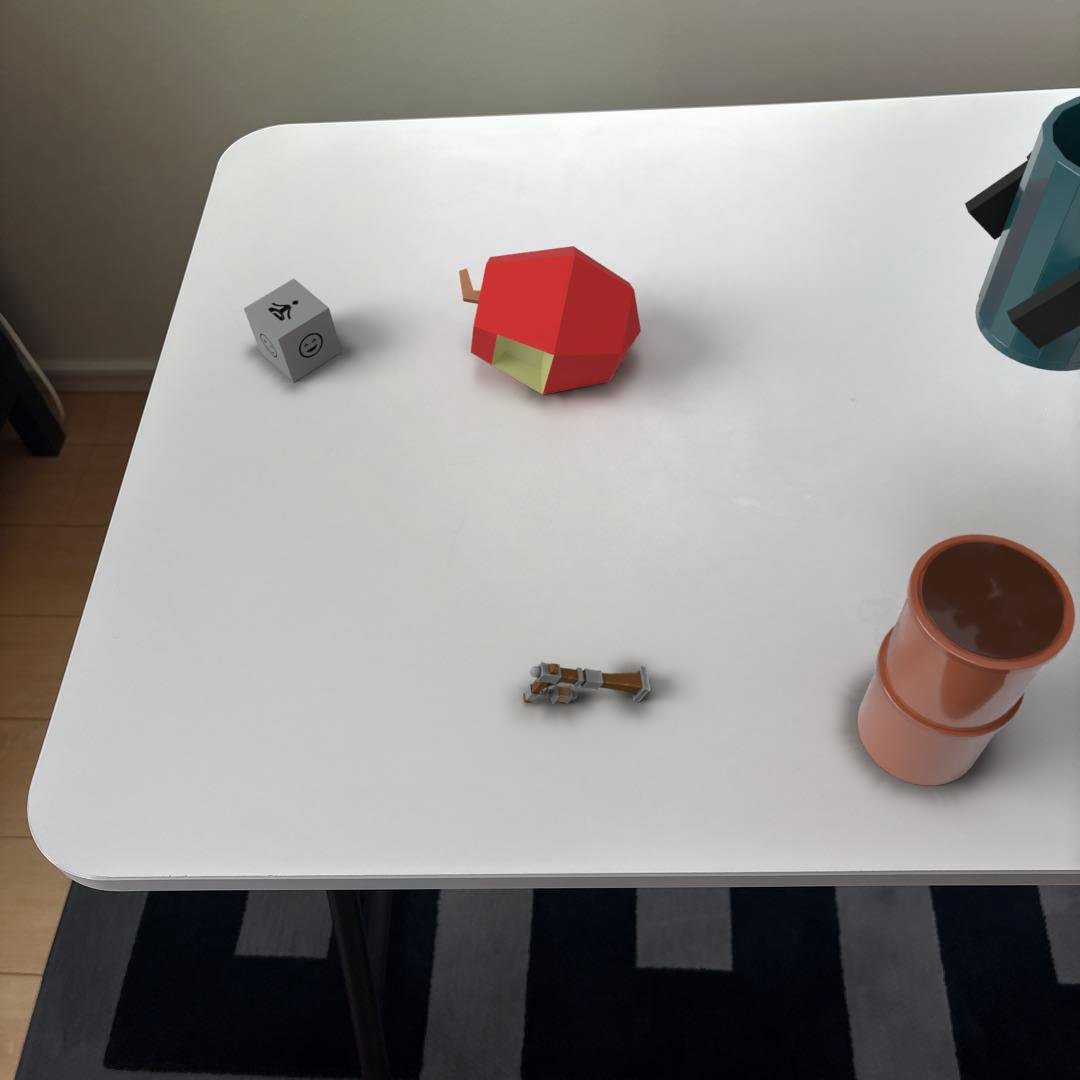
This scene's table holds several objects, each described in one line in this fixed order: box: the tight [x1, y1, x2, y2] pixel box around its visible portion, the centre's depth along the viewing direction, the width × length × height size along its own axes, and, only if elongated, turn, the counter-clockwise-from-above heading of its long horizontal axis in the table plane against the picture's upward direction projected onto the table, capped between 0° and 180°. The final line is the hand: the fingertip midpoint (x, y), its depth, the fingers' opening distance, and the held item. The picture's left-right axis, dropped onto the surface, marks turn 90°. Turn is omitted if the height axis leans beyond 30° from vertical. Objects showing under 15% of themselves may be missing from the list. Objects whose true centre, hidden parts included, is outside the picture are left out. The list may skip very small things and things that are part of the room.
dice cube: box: [243, 278, 343, 383], centre depth 88 cm, size 5×5×5 cm
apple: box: [458, 245, 642, 396], centre depth 83 cm, size 12×12×15 cm
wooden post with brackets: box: [522, 661, 651, 705], centre depth 70 cm, size 2×8×4 cm, turn 95°
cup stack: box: [857, 533, 1076, 786], centre depth 61 cm, size 8×8×16 cm
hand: (1000, 273), depth 54 cm, fingers closed on cup, 7 cm apart
